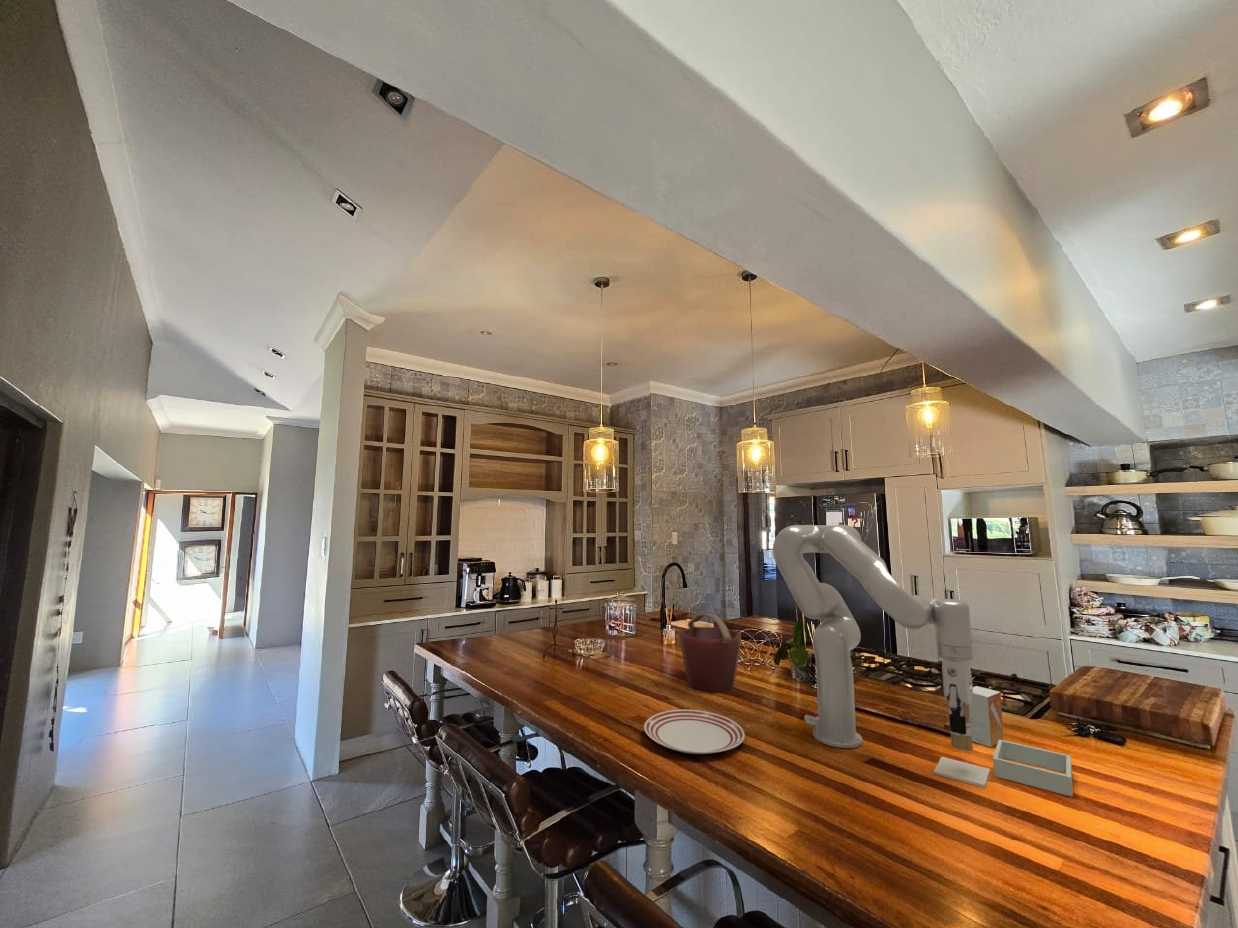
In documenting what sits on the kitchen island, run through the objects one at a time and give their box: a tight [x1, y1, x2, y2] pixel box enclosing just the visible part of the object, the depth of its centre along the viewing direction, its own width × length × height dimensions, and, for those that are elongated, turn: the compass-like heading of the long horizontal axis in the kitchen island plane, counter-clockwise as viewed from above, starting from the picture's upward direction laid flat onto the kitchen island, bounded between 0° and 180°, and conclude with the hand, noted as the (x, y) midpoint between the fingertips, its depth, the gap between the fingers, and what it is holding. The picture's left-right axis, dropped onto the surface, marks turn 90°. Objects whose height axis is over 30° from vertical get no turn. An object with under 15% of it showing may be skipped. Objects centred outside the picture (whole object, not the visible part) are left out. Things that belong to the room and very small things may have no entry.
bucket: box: [678, 613, 742, 694], centre depth 190 cm, size 24×22×25 cm
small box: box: [969, 685, 1005, 748], centre depth 143 cm, size 8×6×13 cm
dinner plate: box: [643, 709, 746, 755], centre depth 143 cm, size 28×27×3 cm
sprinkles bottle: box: [947, 695, 974, 752], centre depth 125 cm, size 5×5×13 cm
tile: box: [933, 756, 991, 789], centre depth 124 cm, size 10×10×1 cm
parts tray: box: [992, 740, 1074, 798], centre depth 123 cm, size 14×14×4 cm
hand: (960, 728), depth 125 cm, fingers closed on sprinkles bottle, 4 cm apart
